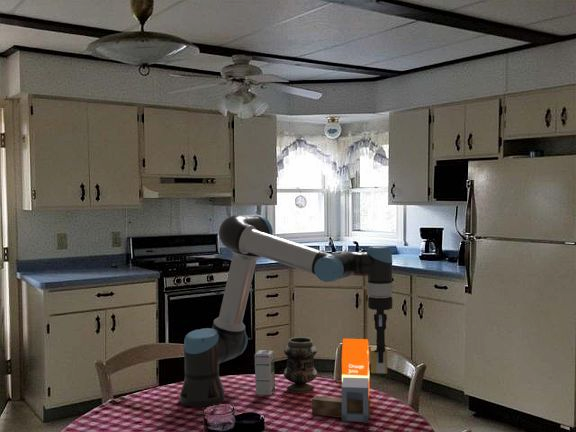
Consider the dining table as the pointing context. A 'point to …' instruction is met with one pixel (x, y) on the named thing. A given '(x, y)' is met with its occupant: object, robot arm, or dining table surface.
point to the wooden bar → (336, 406)
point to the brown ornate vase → (300, 364)
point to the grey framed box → (355, 398)
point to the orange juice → (355, 359)
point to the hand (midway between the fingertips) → (380, 369)
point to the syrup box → (264, 372)
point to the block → (373, 360)
